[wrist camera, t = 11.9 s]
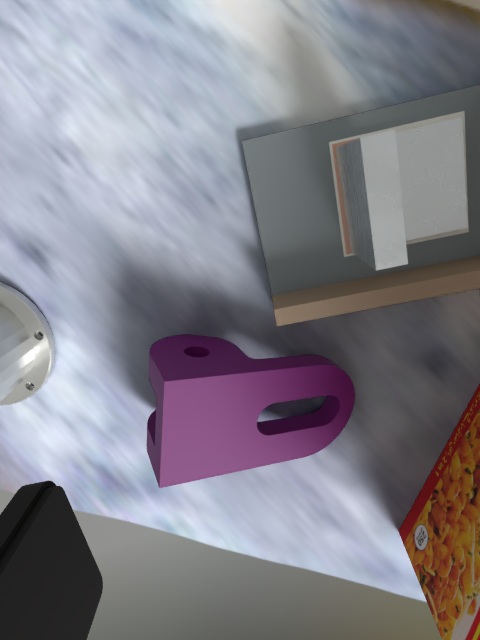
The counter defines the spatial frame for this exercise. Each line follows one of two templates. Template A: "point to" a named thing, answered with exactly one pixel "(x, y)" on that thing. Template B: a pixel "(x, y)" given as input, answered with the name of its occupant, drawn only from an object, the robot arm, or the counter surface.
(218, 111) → the counter surface
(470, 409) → the pasta box
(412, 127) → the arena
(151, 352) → the mounting bracket
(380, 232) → the bracket
